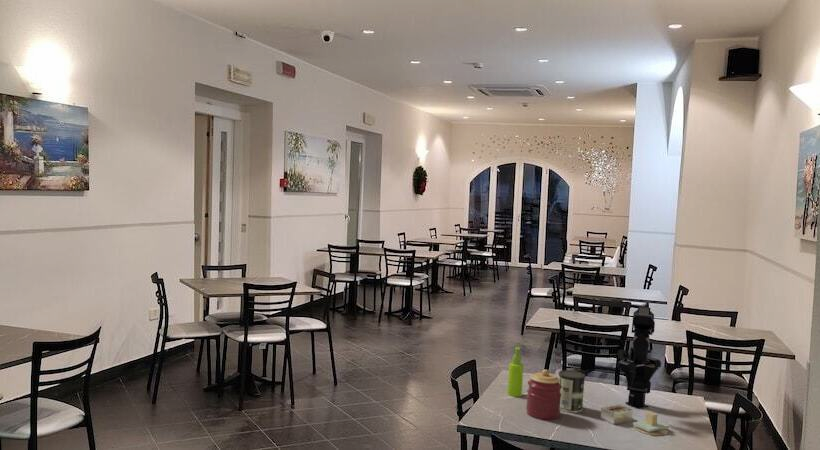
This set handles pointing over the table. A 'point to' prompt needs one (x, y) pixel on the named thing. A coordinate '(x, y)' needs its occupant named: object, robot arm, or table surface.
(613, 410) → the tin
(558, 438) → the table surface
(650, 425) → the lid
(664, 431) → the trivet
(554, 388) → the canister
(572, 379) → the coffee can
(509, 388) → the soap dispenser
